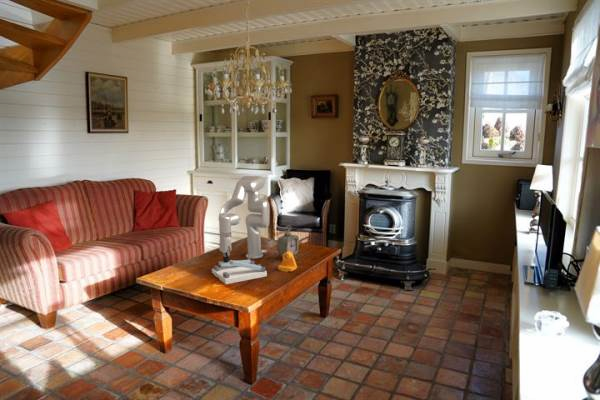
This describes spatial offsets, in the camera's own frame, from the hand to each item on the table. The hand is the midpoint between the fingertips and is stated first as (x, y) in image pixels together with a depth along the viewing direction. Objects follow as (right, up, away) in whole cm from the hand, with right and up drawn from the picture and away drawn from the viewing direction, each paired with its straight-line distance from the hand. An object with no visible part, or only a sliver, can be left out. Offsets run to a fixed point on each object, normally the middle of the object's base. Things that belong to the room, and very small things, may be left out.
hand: (226, 262), depth 296 cm
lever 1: (+6, -2, +4) cm, 7 cm away
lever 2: (+14, -2, -9) cm, 17 cm away
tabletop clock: (+39, -2, +30) cm, 49 cm away
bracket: (+39, -6, +7) cm, 41 cm away
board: (+9, -8, -2) cm, 12 cm away
